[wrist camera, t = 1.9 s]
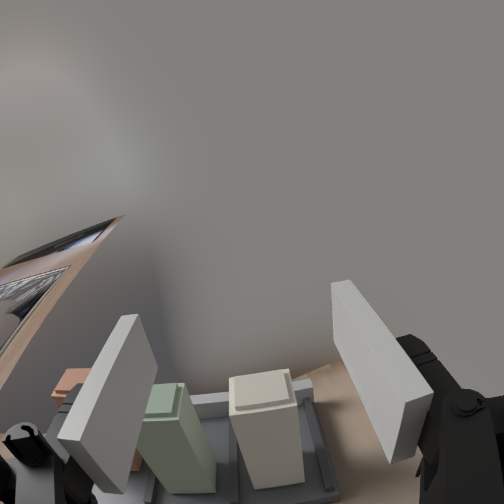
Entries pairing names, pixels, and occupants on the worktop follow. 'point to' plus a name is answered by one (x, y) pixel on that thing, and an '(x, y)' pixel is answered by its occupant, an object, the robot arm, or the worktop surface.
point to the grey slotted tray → (241, 463)
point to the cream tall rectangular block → (267, 427)
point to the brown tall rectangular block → (67, 384)
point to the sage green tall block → (176, 442)
